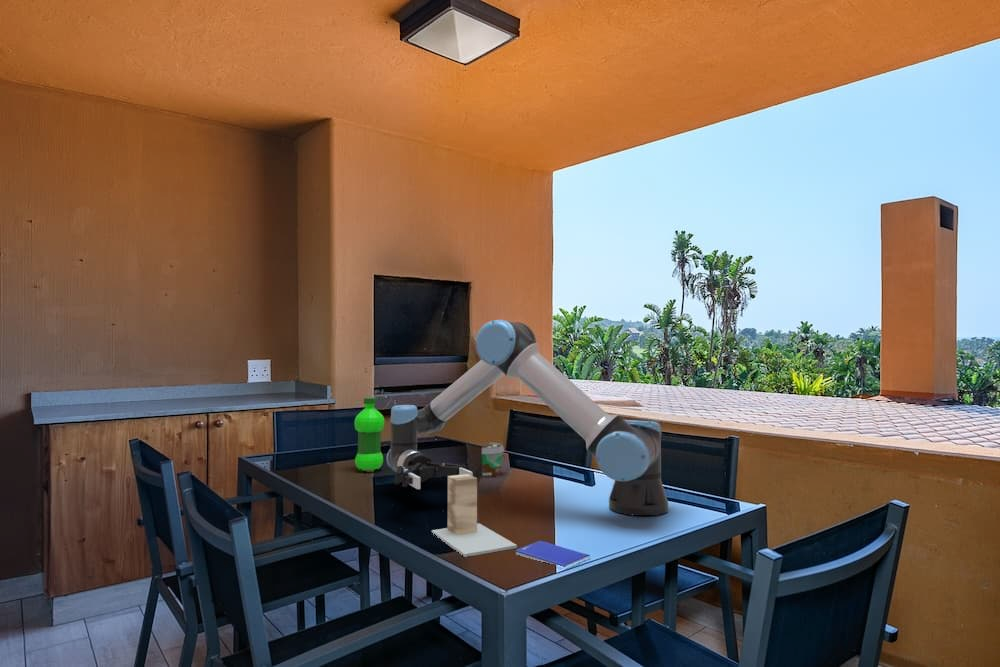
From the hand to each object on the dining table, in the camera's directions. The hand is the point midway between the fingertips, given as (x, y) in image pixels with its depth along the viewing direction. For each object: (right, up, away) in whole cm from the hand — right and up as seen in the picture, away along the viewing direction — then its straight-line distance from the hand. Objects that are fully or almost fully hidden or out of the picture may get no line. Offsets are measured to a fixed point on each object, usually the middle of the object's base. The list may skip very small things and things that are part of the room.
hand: (445, 480), depth 143 cm
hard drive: (+24, -10, -24) cm, 35 cm away
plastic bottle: (-32, -12, +62) cm, 71 cm away
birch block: (+4, -9, -9) cm, 13 cm away
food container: (+11, -12, +55) cm, 57 cm away
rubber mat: (+7, -10, -14) cm, 18 cm away
